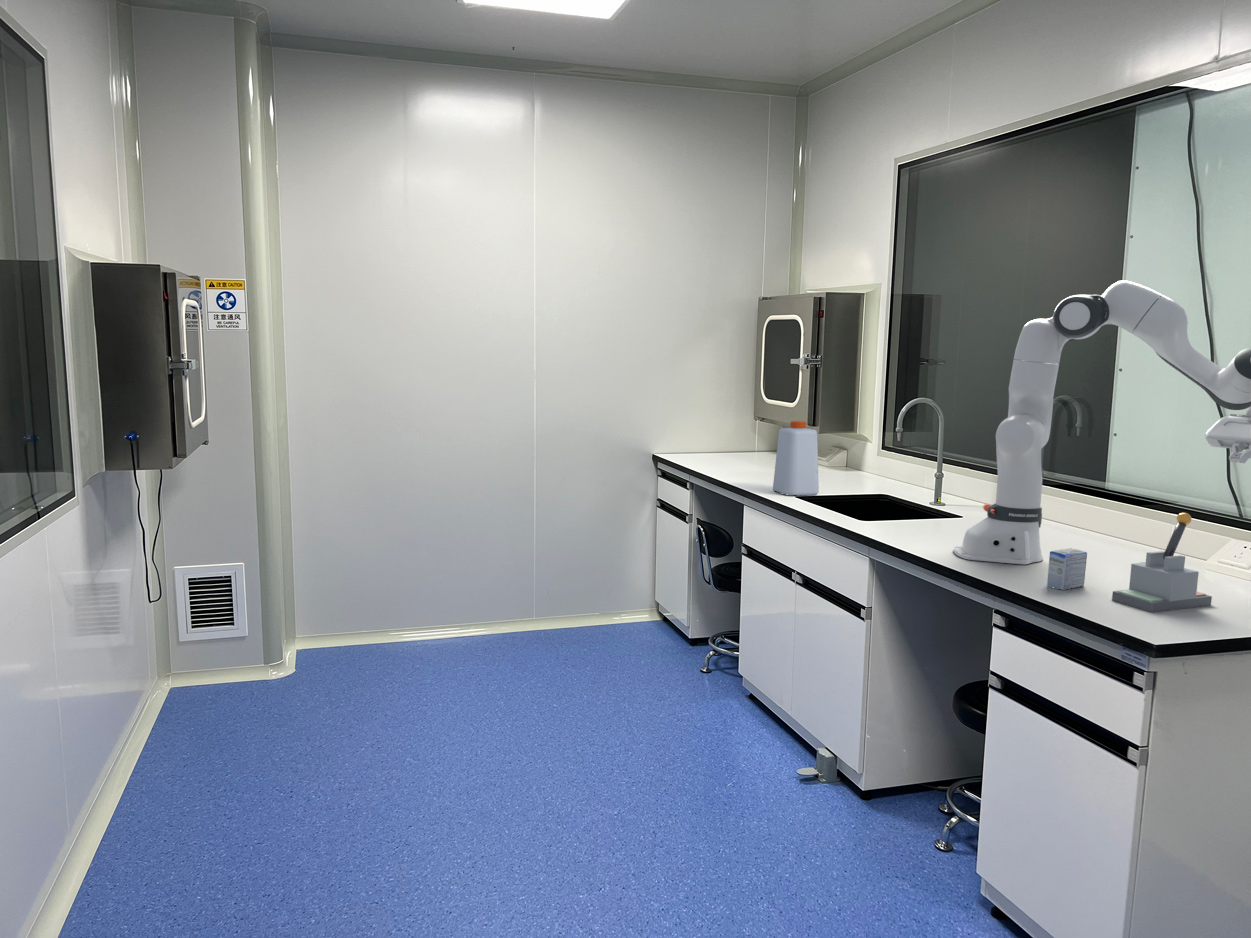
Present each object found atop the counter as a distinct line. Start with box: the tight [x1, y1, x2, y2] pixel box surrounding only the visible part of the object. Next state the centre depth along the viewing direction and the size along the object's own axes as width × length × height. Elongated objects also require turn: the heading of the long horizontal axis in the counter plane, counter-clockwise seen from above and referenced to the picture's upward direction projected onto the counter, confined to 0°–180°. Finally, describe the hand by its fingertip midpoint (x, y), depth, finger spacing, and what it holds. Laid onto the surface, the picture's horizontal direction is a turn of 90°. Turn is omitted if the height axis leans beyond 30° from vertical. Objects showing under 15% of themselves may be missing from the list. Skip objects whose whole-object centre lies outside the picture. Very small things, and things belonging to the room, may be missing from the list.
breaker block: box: [1111, 550, 1213, 613], centre depth 196 cm, size 18×10×11 cm, turn 111°
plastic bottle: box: [772, 420, 820, 496], centre depth 341 cm, size 15×15×28 cm
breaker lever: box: [1163, 512, 1192, 560], centre depth 196 cm, size 3×3×12 cm
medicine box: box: [1046, 547, 1088, 591], centre depth 209 cm, size 8×4×9 cm, turn 118°
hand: (1236, 460), depth 200 cm, fingers closed
